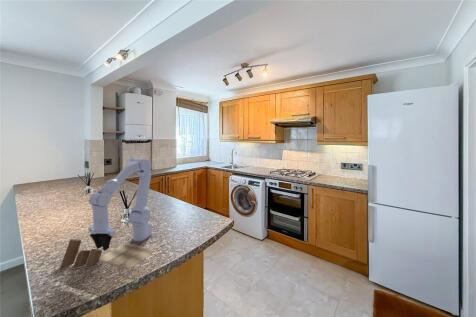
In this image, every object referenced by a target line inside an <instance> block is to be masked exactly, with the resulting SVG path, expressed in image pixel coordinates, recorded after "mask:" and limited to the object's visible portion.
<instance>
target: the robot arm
mask: <svg viewBox="0 0 476 317" xmlns="http://www.w3.org/2000/svg"><path fill="white" fill-rule="evenodd" d="M132 173H137V174H138V176H139V179H138V180H139V181H138V187H137V193H136V199H135V200H136V201H135V205H134V206H133V207H131V210H130V213H129V215H128V220H129V222H131V225H132V226H131V227H132V240H133V241H134V242H141V241H145V240H146V239H147V238H149V237H151V236H153V226H152V225H153V224H152V222H151V221H150V220H151V213H150V212H151V210H150V208H149V207H148V198H149V192H150V186H151V185H150V184H151V179H152V162H151V161H150V160H149V158H146V157H145V158H142V157H141V158H140V157H139V158H138V157H131V158H129V160H128V161H127V162H126V165H125V166H124V167H123V169H121V171H120V172H119V173H118V174H117V175H116V176H115V177H114V179H113V178H111V179H109V180H106V181H105V184H104V185H103V186H102V187H101V188H99V189H97V190H98V191H96V192H94V193H92V194H91V195H90V197H89V199H88V203H89V204H90V205H91V209H92V220H93V225H90V226H89V227H87V228H88V230H87V231H88V232H90V234H89V237H90V238H91V239H92V240H93V243H94V244H95V247H96V249H99V250H100V248H102V251H104V252H105V251H107V250H108V249H110V248H109V247H110V244H111V240H112V238H113V236H115V235H116V234H117V233H116V232H117V231H116V229H113V228H111V227H110V221H109V220H110V219H109V204H110V203H111V199H112V198H113V196H114V195H115V194H116V193H117V192H118V190H119V189H120V188H121V186H122V185H121V183H123V181H125V180H126V179H127V178H128V177H129V176H130V175H131V174H132Z"/></svg>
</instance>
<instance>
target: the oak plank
mask: <svg viewBox="0 0 476 317" xmlns="http://www.w3.org/2000/svg"><path fill="white" fill-rule="evenodd" d="M136 246H138V245H136V244H132V243H129V242H125V243H124V244H121V245H120V246H118V247H116V248H113V250H112V249H111V250H110V251H108V252H106V253H104V254H103V255H102V254H101V256H100V259H99V262H102V263H107V264H109V263H108V262H110V261H112V260H114V259H115V258H117V257H119V256H121V255H122V254H124V253H126V252H128V251H129V250H131V249H133V248H134V247H136Z"/></svg>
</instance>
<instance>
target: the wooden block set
mask: <svg viewBox="0 0 476 317" xmlns="http://www.w3.org/2000/svg"><path fill="white" fill-rule="evenodd" d="M81 244H82V240H81V239H78V238H72V239H71V238H70V240H69V242H68V245H67V247H66V249H65V250H66V251H65V253H64V255H63V259H62V260H61V261H62V262H61V263H60V265H61V267H69V266H71V265H72V264H74V266H78V267H81V266H82V265H85V264H86V265H88V266H93V265H95V264H97V263H99V262H100V261H99V259H100V256H102V252H103V249H100V248H99V249H97V248H94V249H93V248H92V249H91V250H90V249H84V250H81V251H80V249H79V248H80V246H81Z"/></svg>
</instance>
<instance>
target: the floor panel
mask: <svg viewBox="0 0 476 317" xmlns="http://www.w3.org/2000/svg"><path fill="white" fill-rule="evenodd" d="M157 251H158V250H157V249H153V248H149V247H144V246H140V245H137V246H136V247H134V248H132V249H130V250H129V251H127V252H125V253H123V254H122V255H120V256H118V257H116V258H115V259H113V260H111V261H109V262H108V263H107V264H110V265H113V266H116V267H120V268H123V269H127V270H130V269H131V268H133V267H134V266H136V265H137V264H139V263H140V262H142V261H143V260H145V259H146V258H148V257H149V256H150V255H153V254H154V253H155V252H157Z"/></svg>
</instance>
